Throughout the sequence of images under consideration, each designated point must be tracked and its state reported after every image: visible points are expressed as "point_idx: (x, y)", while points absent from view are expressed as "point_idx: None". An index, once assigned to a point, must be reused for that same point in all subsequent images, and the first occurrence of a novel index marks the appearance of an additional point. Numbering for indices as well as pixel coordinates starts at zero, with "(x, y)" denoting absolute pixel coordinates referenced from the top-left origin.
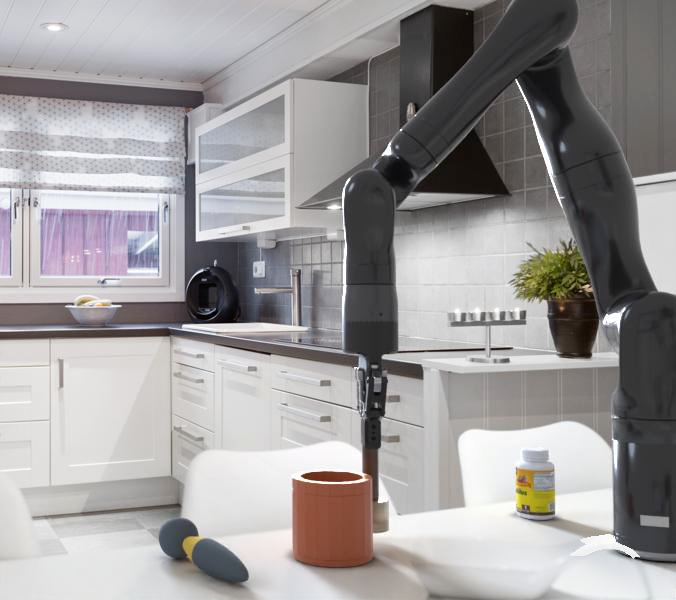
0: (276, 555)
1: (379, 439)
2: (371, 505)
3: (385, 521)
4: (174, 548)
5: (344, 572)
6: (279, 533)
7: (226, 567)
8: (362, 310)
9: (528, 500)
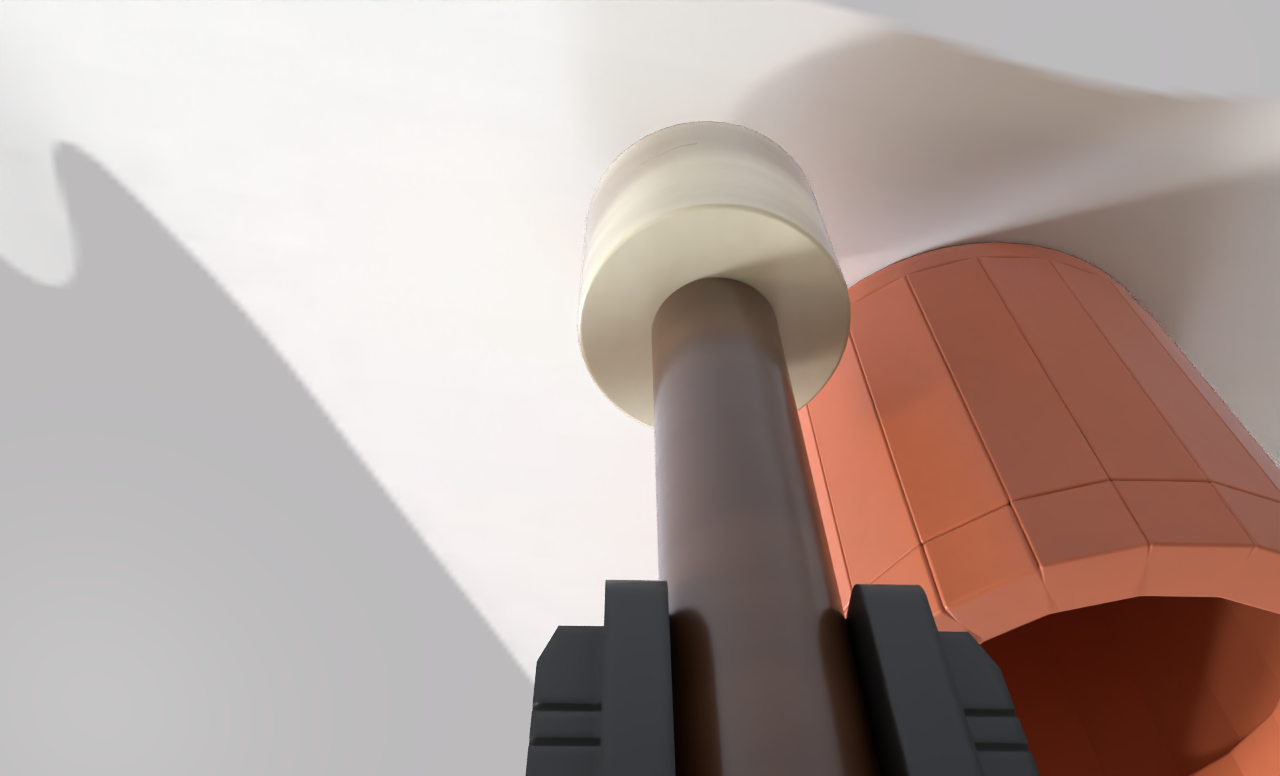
0: None
1: (945, 667)
2: (1199, 425)
3: (803, 184)
4: None
5: (1231, 399)
6: (515, 586)
7: None
8: None
9: None
